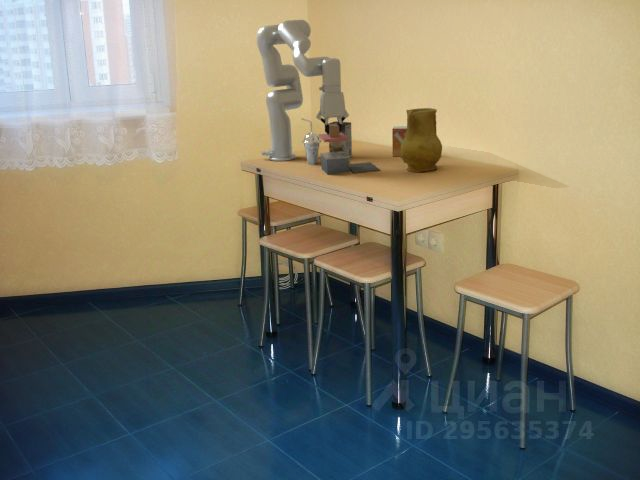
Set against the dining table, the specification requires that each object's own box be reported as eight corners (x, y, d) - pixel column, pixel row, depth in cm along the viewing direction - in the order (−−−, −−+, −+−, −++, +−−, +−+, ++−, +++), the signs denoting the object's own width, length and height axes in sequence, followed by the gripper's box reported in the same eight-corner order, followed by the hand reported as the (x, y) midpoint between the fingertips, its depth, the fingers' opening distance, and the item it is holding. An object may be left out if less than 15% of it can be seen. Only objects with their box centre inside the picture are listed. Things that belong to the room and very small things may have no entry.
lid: (324, 142, 302) (324, 128, 300) (318, 137, 313) (318, 123, 311) (348, 140, 304) (347, 126, 302) (341, 135, 315) (341, 122, 313)
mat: (353, 173, 306) (353, 172, 306) (344, 165, 321) (344, 164, 321) (380, 170, 308) (380, 169, 308) (370, 163, 323) (370, 162, 323)
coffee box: (328, 158, 339) (327, 123, 334) (335, 155, 344) (334, 121, 339) (345, 159, 334) (344, 124, 329) (352, 156, 339) (351, 122, 334)
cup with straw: (307, 166, 324) (304, 121, 317) (300, 162, 332) (297, 118, 325) (325, 164, 326) (323, 119, 320) (317, 160, 335) (315, 116, 328)
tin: (327, 174, 306) (326, 158, 304) (321, 169, 317) (320, 153, 315) (350, 172, 308) (349, 156, 306) (343, 166, 319) (342, 151, 317)
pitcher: (393, 168, 312) (392, 109, 304) (430, 162, 318) (430, 105, 311) (413, 175, 297) (413, 114, 289) (452, 169, 303) (453, 109, 296)
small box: (392, 156, 335) (391, 128, 331) (393, 154, 340) (393, 126, 336) (410, 156, 333) (409, 128, 329) (411, 154, 339) (411, 125, 335)
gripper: (313, 91, 297) (315, 136, 303) (353, 89, 300) (354, 133, 306) (310, 89, 304) (311, 133, 310) (349, 87, 307) (350, 130, 313)
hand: (333, 132), depth 308 cm, fingers closed on lid, 4 cm apart
